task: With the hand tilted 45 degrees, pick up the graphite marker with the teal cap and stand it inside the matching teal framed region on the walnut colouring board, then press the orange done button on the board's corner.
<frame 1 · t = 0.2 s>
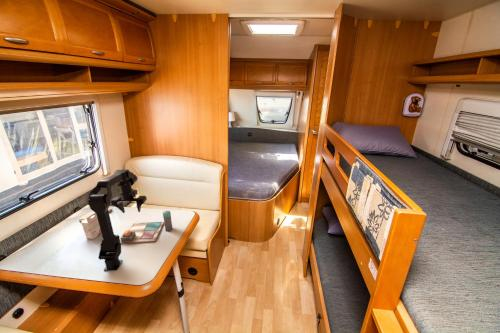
hand: (131, 212, 138), 14 cm above the table, tool pointing down, fingers open, 9 cm apart
teal marker: (169, 229, 145), on the table
washcloth: (96, 216, 160), on the table
colouring board: (144, 232, 142), on the table
ink cartridge box: (95, 234, 141), on the table
done button: (127, 234, 134), point 4 cm above the table, slide at 0.0 cm
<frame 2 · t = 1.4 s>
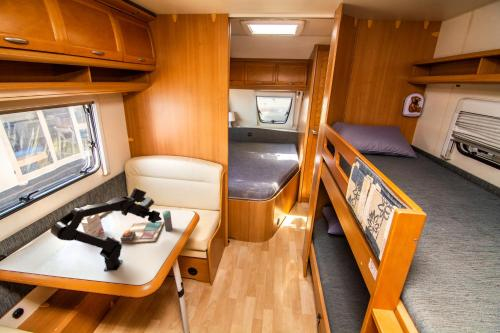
hand: (156, 217, 134), 13 cm above the table, tool tilted 45°, fingers open, 9 cm apart
nothing on the table moved.
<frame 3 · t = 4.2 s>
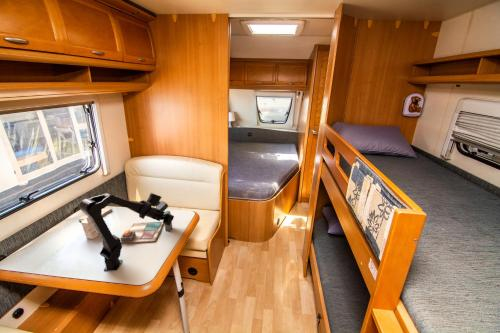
hand: (169, 219, 144), 7 cm above the table, tool tilted 45°, fingers closed on teal marker, 4 cm apart
teal marker: (169, 229, 145), on the table, touching gripper
everything else where it was.
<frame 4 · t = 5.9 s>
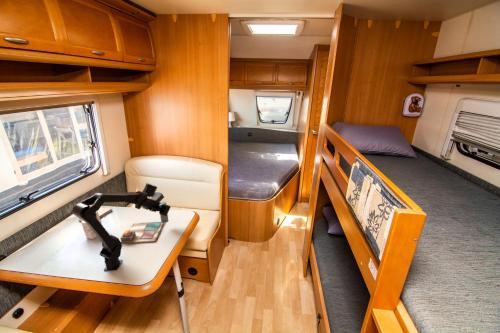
hand: (165, 211, 142), 12 cm above the table, tool tilted 45°, fingers closed on teal marker, 4 cm apart
teal marker: (164, 221, 144), point 6 cm above the table, touching gripper
everything else where it was.
when the fingers open (9 cm above the table, at t = 8.1 s): teal marker stays where it is, resting on colouring board.
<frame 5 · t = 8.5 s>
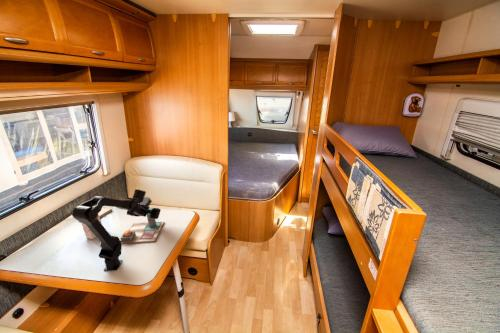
hand: (152, 215, 145), 9 cm above the table, tool tilted 45°, fingers open, 8 cm apart
teal marker: (152, 226, 147), point 1 cm above the table, touching colouring board
everything else where it was.
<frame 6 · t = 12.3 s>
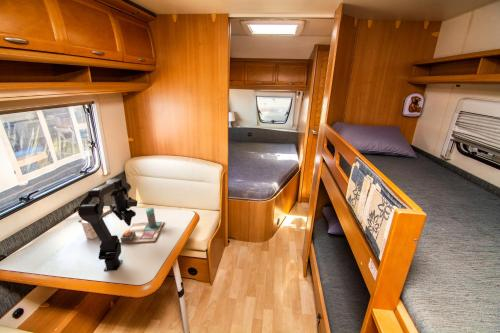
hand: (125, 222, 131), 12 cm above the table, tool pointing down, fingers open, 9 cm apart
nothing on the table moved.
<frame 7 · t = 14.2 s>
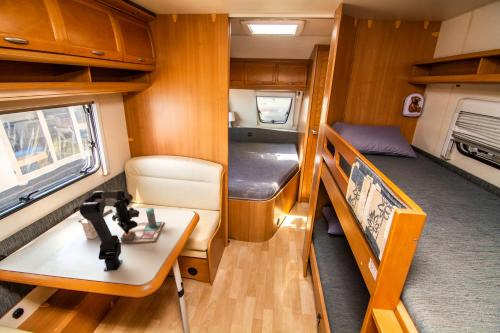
hand: (127, 233, 134), 5 cm above the table, tool pointing down, fingers closed, pressing on done button
done button: (127, 235, 134), point 3 cm above the table, slide at 0.8 cm, touching gripper
everything else where it was.
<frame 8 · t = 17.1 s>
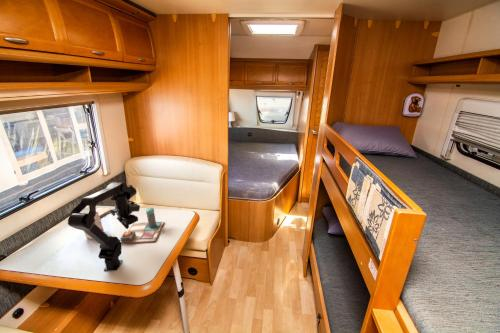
hand: (127, 228, 126), 12 cm above the table, tool pointing down, fingers closed
done button: (127, 235, 134), point 3 cm above the table, slide at 1.0 cm
everything else where it was.
at the end: teal marker 0.0 cm from the target spot on the colouring board, point 1.0 cm above the colouring board's base; teal marker tilted 0°; done button slide at 1.0 cm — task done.
